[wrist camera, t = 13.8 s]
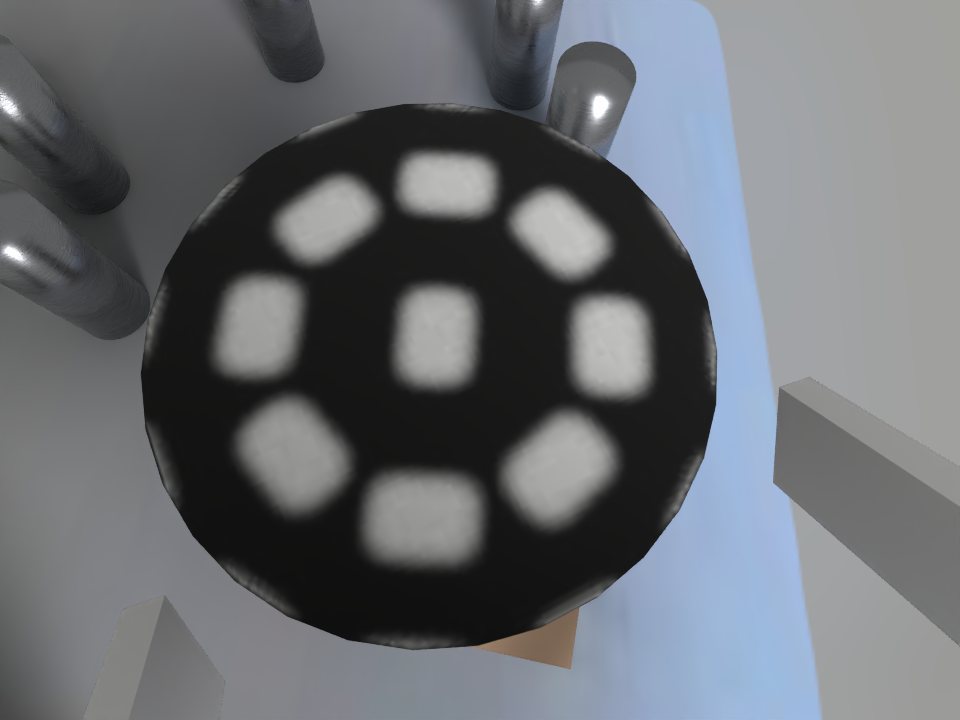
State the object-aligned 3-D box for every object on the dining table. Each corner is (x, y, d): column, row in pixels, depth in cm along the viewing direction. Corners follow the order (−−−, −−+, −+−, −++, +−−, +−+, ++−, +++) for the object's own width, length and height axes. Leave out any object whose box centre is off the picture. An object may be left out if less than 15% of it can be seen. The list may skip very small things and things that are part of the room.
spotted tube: (372, 389, 29) (203, 86, 10) (537, 398, 29) (697, 119, 10) (353, 566, 26) (72, 635, 7) (535, 574, 26) (743, 664, 7)
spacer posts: (-2, 316, 31) (-181, 228, 22) (162, -6, 38) (76, -167, 29) (550, 434, 30) (587, 391, 21) (610, 82, 37) (657, -57, 28)
